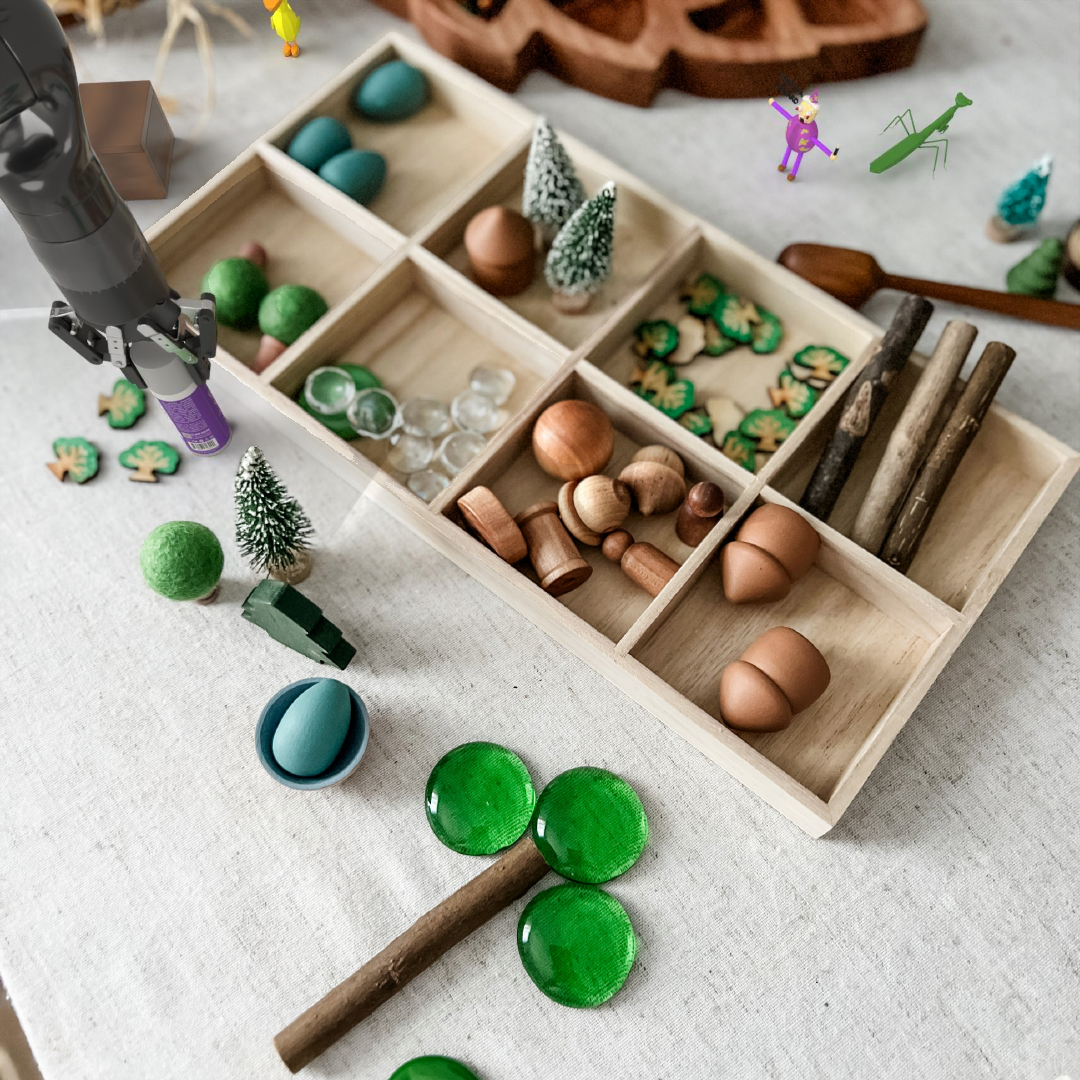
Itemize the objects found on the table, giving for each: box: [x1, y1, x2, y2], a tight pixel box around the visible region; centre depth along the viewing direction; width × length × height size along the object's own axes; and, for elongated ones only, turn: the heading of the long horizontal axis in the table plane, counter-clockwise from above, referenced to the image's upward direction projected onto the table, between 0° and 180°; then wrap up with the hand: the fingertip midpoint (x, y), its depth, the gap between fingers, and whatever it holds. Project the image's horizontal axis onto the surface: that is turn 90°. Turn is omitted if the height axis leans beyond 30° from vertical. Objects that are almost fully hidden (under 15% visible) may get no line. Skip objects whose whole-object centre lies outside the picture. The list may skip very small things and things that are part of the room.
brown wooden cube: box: [78, 79, 175, 202], centre depth 108 cm, size 8×10×8 cm
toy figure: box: [262, 0, 302, 58], centre depth 114 cm, size 7×4×12 cm, turn 176°
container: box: [129, 341, 233, 457], centre depth 89 cm, size 5×5×15 cm
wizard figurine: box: [768, 72, 841, 182], centre depth 106 cm, size 11×3×12 cm, turn 35°
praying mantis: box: [869, 91, 974, 179], centre depth 111 cm, size 9×15×4 cm, turn 127°
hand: (173, 378), depth 86 cm, fingers closed on container, 4 cm apart
